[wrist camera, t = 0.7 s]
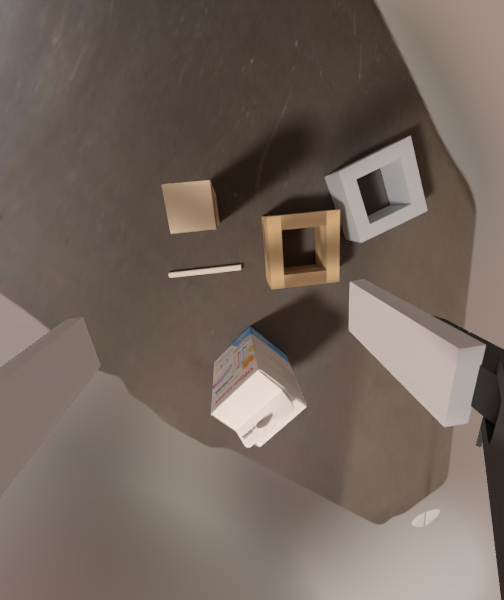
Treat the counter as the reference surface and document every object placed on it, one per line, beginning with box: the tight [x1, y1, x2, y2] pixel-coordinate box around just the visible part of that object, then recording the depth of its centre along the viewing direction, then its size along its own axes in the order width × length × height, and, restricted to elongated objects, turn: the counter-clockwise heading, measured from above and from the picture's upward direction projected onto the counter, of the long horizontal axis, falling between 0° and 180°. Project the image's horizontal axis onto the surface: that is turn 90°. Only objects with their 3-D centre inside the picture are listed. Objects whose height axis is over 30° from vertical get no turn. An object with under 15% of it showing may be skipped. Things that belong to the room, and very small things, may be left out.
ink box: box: [211, 327, 307, 448], centre depth 36 cm, size 9×8×13 cm
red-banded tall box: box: [161, 180, 220, 234], centre depth 28 cm, size 4×4×15 cm
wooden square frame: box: [262, 210, 340, 289], centre depth 35 cm, size 9×9×4 cm
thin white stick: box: [168, 264, 241, 278], centre depth 37 cm, size 1×10×1 cm, turn 96°
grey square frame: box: [325, 136, 427, 243], centre depth 34 cm, size 9×9×4 cm
